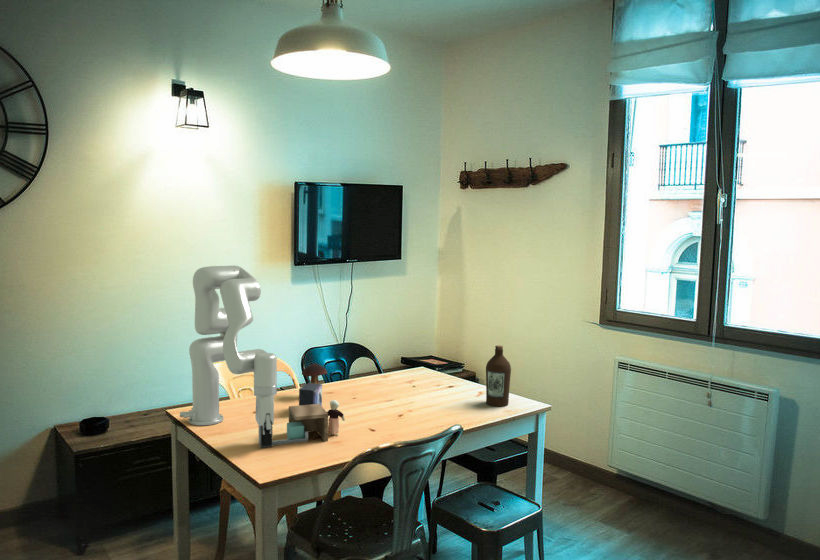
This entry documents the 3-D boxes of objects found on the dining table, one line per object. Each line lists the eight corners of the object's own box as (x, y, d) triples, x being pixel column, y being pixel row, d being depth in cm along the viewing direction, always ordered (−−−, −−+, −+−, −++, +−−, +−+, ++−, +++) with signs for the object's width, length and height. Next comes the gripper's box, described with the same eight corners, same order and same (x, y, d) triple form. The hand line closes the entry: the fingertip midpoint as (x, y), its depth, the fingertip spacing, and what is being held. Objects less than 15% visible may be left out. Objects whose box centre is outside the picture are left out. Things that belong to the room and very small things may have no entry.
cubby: (295, 444, 218) (295, 416, 217) (288, 432, 230) (288, 406, 229) (327, 441, 222) (328, 413, 221) (319, 429, 234) (319, 403, 233)
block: (289, 441, 221) (289, 427, 220) (286, 436, 225) (286, 422, 225) (303, 439, 223) (303, 425, 222) (300, 435, 227) (300, 421, 227)
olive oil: (488, 399, 280) (489, 342, 277) (512, 402, 276) (514, 345, 274) (482, 405, 270) (483, 347, 267) (506, 408, 266) (508, 349, 264)
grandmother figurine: (322, 436, 226) (323, 401, 225) (323, 432, 230) (324, 398, 229) (344, 436, 227) (345, 401, 226) (345, 433, 231) (345, 398, 230)
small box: (313, 416, 250) (313, 390, 249) (298, 414, 251) (298, 388, 250) (322, 408, 260) (322, 383, 259) (307, 407, 261) (307, 382, 261)
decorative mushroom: (307, 402, 269) (307, 367, 268) (297, 395, 278) (298, 362, 277) (331, 399, 274) (331, 364, 273) (321, 393, 284) (321, 359, 283)
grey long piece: (260, 448, 213) (260, 427, 213) (257, 442, 219) (257, 422, 219) (309, 442, 220) (309, 422, 219) (305, 436, 225) (305, 417, 225)
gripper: (250, 385, 221) (250, 436, 222) (257, 397, 205) (258, 452, 207) (272, 383, 224) (272, 434, 225) (281, 395, 208) (281, 450, 210)
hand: (265, 442), depth 216 cm, fingers closed on grey long piece, 4 cm apart
